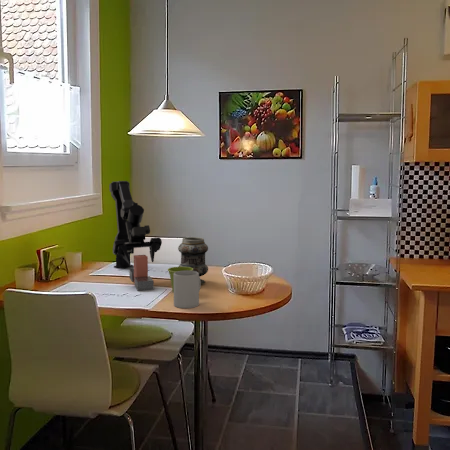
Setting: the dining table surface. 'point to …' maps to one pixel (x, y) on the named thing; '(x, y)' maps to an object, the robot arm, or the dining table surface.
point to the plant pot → (175, 269)
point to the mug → (186, 289)
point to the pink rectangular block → (140, 266)
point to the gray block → (141, 281)
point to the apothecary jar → (194, 255)
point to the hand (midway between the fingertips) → (141, 262)
